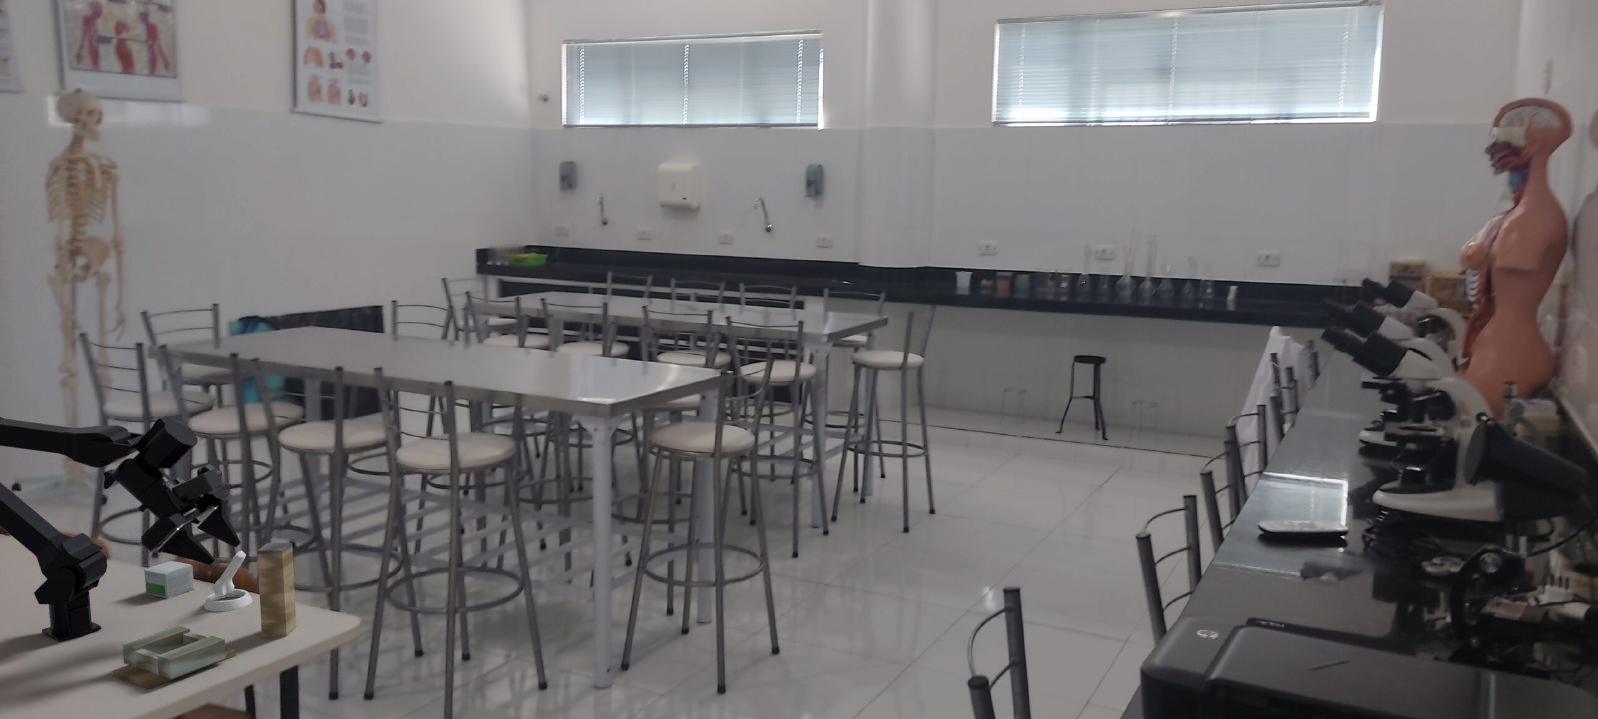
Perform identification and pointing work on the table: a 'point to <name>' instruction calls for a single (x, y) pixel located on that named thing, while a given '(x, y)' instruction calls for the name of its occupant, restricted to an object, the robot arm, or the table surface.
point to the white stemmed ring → (228, 589)
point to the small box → (169, 579)
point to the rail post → (276, 589)
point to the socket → (169, 656)
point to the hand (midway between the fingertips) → (226, 553)
